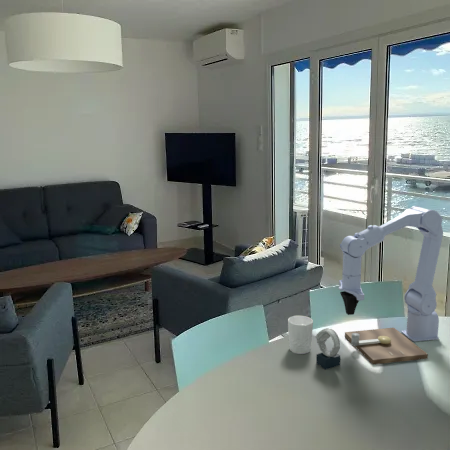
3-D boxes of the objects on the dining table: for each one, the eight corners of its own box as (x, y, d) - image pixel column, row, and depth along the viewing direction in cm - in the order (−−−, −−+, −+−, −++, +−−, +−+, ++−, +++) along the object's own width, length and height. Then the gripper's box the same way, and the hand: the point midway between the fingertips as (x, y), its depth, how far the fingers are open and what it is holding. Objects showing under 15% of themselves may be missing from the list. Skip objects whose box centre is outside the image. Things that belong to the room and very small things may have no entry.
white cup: (285, 353, 149) (285, 323, 147) (289, 342, 156) (290, 314, 154) (310, 356, 147) (311, 326, 145) (313, 345, 154) (314, 316, 152)
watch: (326, 356, 147) (327, 323, 144) (344, 367, 140) (345, 333, 137) (312, 360, 144) (312, 327, 142) (329, 372, 137) (330, 337, 135)
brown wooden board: (393, 331, 164) (393, 327, 163) (427, 358, 144) (427, 353, 144) (344, 336, 160) (344, 331, 160) (372, 364, 141) (373, 359, 141)
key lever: (386, 338, 154) (387, 328, 154) (393, 343, 150) (393, 333, 150) (348, 341, 152) (349, 332, 151) (354, 347, 148) (354, 337, 147)
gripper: (330, 268, 156) (329, 306, 159) (349, 281, 142) (348, 323, 145) (350, 266, 158) (349, 305, 160) (371, 280, 144) (369, 321, 146)
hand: (350, 313), depth 153 cm, fingers closed
